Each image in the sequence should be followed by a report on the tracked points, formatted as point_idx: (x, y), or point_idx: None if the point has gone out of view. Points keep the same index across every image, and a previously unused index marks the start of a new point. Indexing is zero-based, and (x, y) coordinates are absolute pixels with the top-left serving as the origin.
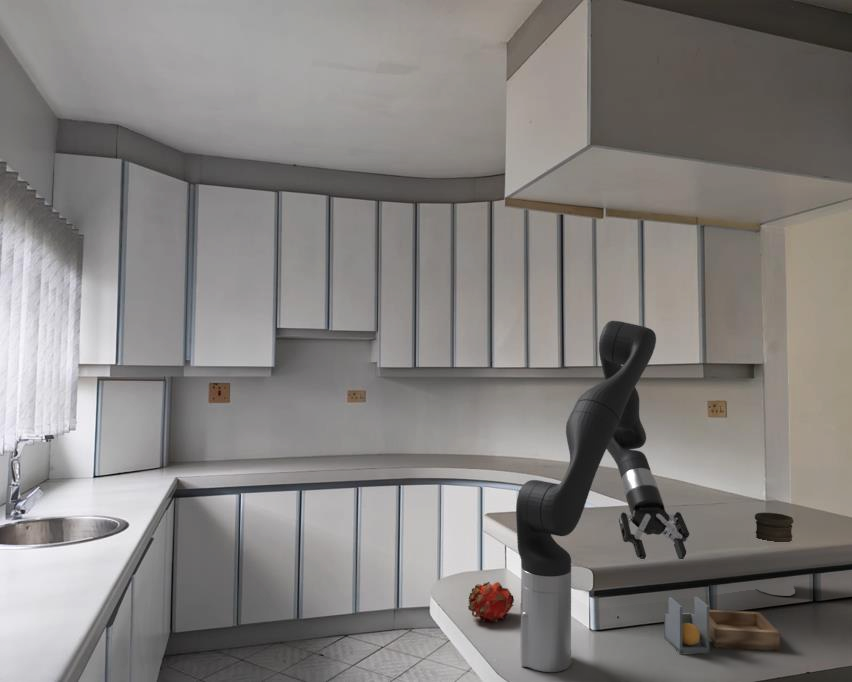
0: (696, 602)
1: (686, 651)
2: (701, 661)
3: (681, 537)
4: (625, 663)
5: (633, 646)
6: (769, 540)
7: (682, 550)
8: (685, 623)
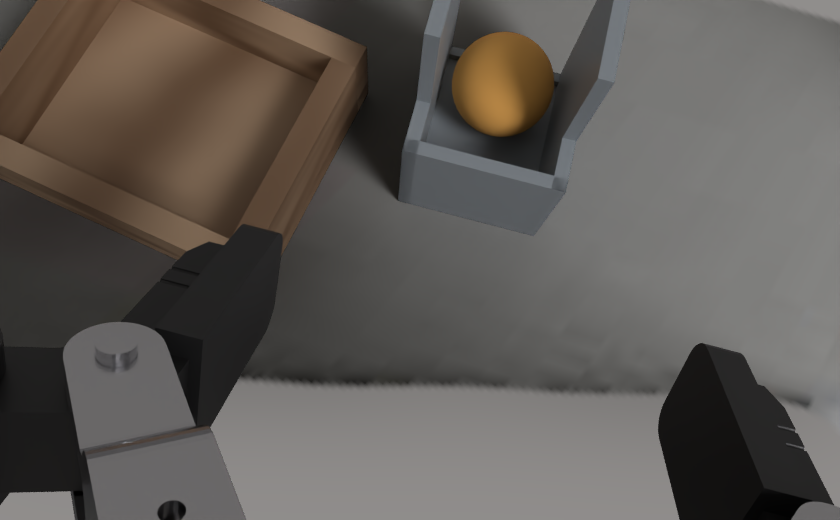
0: (444, 29)
1: None
2: (517, 19)
3: (105, 330)
4: (829, 97)
5: (722, 210)
6: None
7: (241, 247)
8: (520, 74)
